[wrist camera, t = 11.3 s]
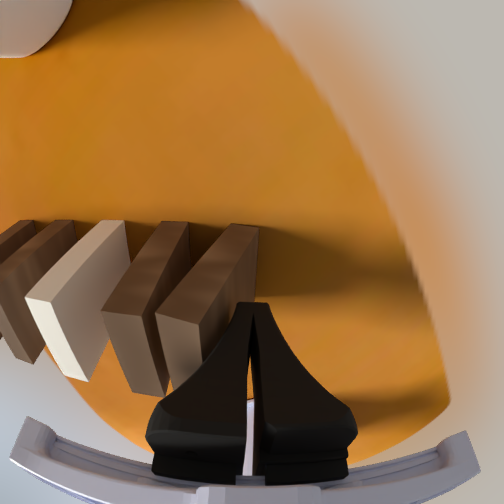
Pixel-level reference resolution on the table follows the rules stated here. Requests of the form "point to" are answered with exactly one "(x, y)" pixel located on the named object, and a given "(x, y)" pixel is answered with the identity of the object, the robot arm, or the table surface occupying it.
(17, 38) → the can
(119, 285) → the domino
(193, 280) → the domino
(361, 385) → the table surface
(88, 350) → the domino
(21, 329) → the domino
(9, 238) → the domino
